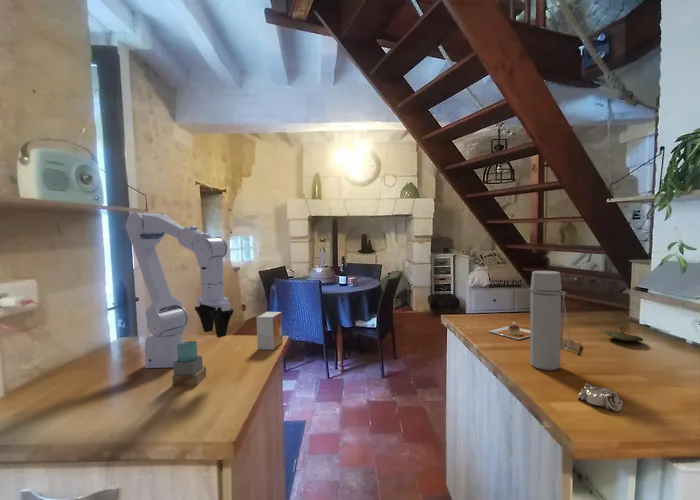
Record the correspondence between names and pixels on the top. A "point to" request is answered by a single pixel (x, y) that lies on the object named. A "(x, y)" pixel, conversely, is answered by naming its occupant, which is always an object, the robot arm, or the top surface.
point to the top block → (188, 367)
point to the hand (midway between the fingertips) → (214, 333)
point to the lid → (623, 335)
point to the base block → (189, 378)
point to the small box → (269, 330)
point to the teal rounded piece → (187, 351)
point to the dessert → (511, 330)
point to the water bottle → (546, 320)
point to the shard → (571, 346)
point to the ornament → (601, 397)
